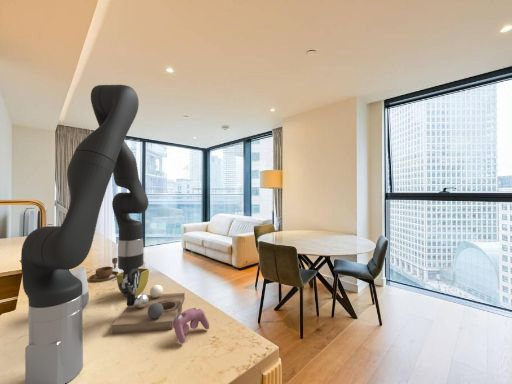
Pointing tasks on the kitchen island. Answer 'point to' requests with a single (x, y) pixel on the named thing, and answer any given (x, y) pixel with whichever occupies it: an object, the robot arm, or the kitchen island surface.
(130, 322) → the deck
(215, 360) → the kitchen island surface
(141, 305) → the steel ball
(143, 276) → the flower pot
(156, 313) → the dark grey ball
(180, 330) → the video game controller
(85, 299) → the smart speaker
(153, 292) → the white ball
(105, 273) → the place setting
